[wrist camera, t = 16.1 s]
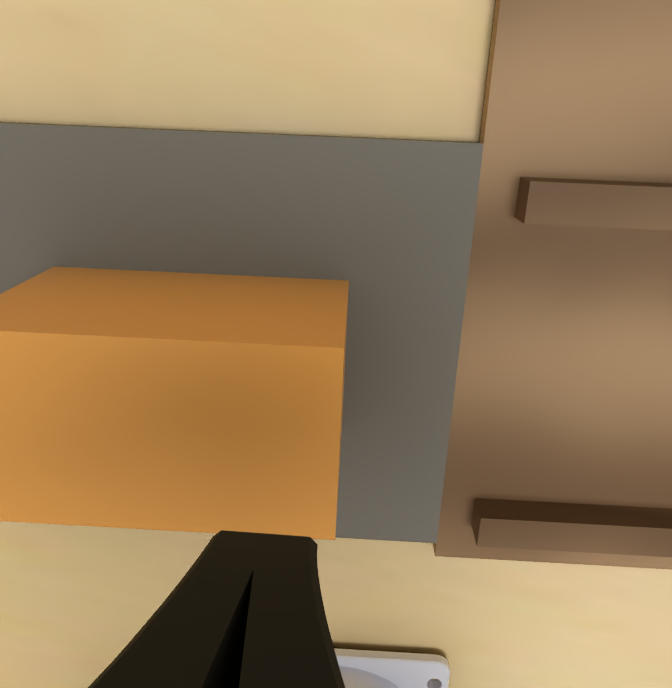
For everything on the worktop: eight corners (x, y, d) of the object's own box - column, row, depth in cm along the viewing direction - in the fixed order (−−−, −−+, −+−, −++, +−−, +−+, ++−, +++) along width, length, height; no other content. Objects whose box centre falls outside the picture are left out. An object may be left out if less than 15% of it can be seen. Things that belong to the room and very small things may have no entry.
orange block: (341, 429, 18) (335, 539, 14) (72, 414, 18) (-26, 519, 14) (349, 280, 17) (344, 348, 12) (53, 266, 17) (-65, 328, 12)
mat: (434, 530, 20) (436, 543, 20) (8, 507, 20) (-2, 518, 20) (479, 142, 16) (483, 143, 15) (-62, 119, 16) (-77, 120, 16)
